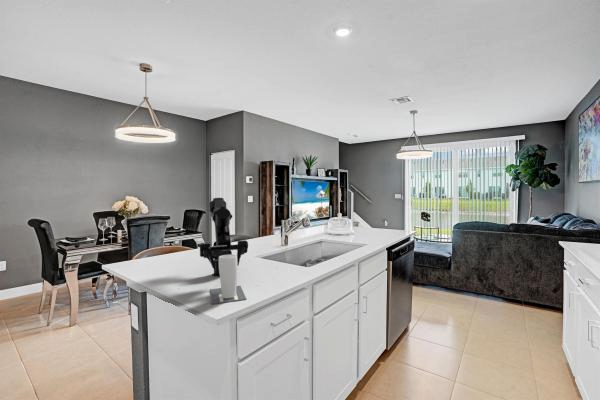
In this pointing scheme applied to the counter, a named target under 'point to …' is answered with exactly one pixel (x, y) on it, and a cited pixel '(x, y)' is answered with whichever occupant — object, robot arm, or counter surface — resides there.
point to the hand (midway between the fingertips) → (225, 266)
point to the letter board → (217, 298)
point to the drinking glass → (228, 275)
